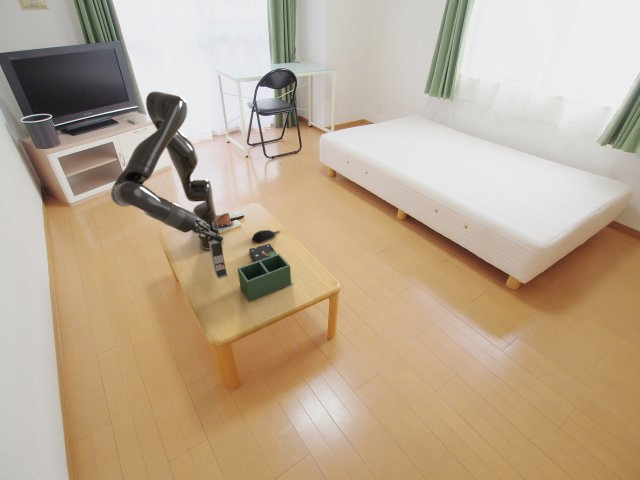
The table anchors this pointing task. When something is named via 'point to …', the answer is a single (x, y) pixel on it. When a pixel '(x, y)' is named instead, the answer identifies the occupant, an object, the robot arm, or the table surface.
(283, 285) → the caddy
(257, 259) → the disk drive
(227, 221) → the sunglasses case
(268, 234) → the gaming mouse
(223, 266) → the vintage mobile phone
